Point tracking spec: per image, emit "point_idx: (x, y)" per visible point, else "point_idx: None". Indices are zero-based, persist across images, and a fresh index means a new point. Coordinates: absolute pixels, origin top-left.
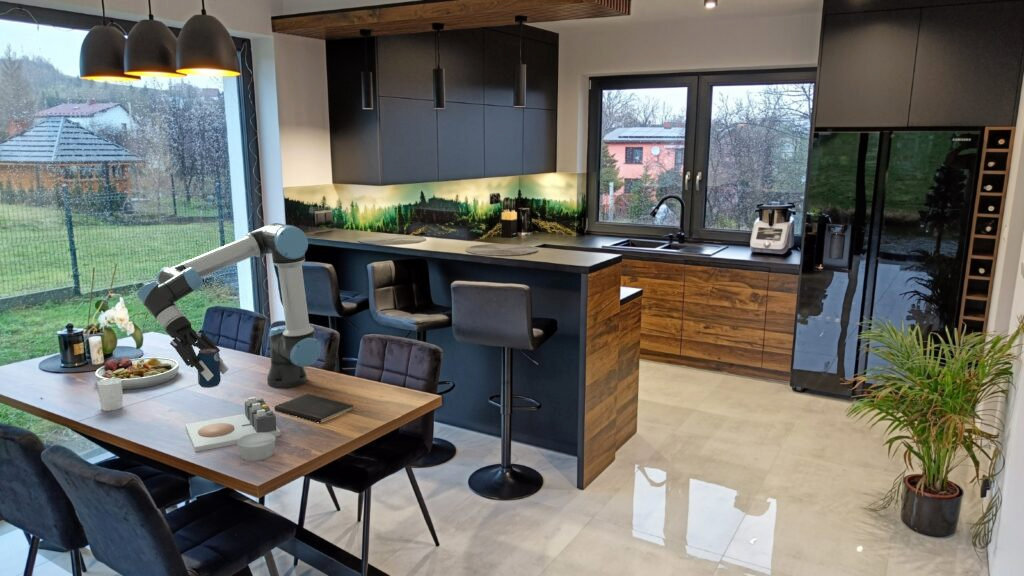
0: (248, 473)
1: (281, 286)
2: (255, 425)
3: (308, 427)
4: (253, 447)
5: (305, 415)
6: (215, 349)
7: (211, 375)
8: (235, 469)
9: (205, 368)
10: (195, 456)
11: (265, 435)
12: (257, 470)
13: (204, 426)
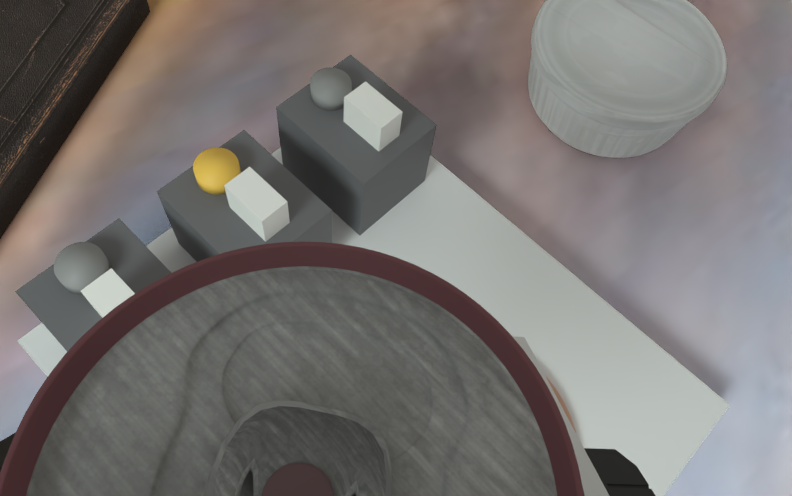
0: (761, 51)
1: None
2: (397, 186)
3: (214, 39)
4: (707, 19)
5: (84, 80)
6: (56, 404)
7: (528, 347)
8: (762, 111)
9: (565, 423)
10: (758, 369)
11: (570, 26)
12: (722, 34)
13: None
